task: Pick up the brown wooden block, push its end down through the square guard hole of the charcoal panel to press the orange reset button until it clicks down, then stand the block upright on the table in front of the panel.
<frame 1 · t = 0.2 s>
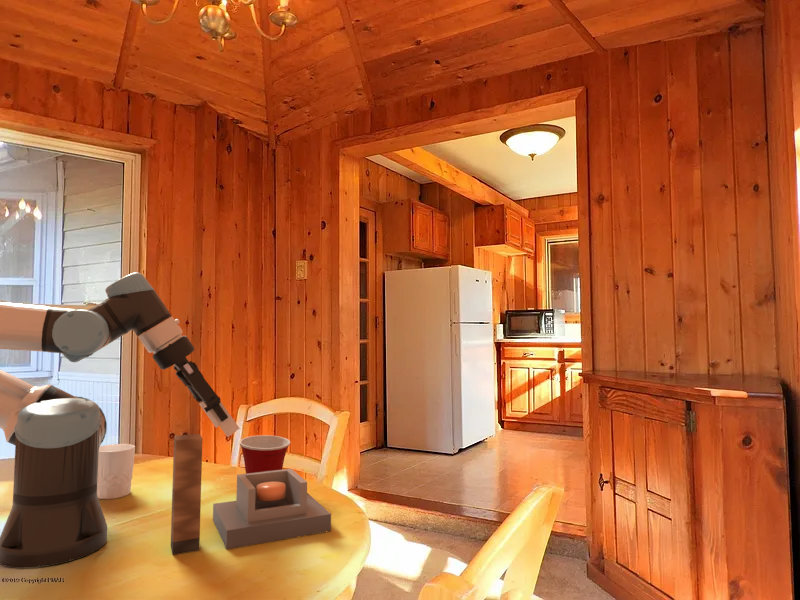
hand: (227, 428, 112), 15 cm above the table, tool tilted 35°, fingers open, 13 cm apart
brown wooden block: (184, 548, 88), on the table
switch panel: (270, 525, 98), on the table
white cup: (112, 495, 116), on the table
button: (271, 491, 99), point 6 cm above the table, slide at 0.0 cm
plastic cup: (263, 496, 116), on the table
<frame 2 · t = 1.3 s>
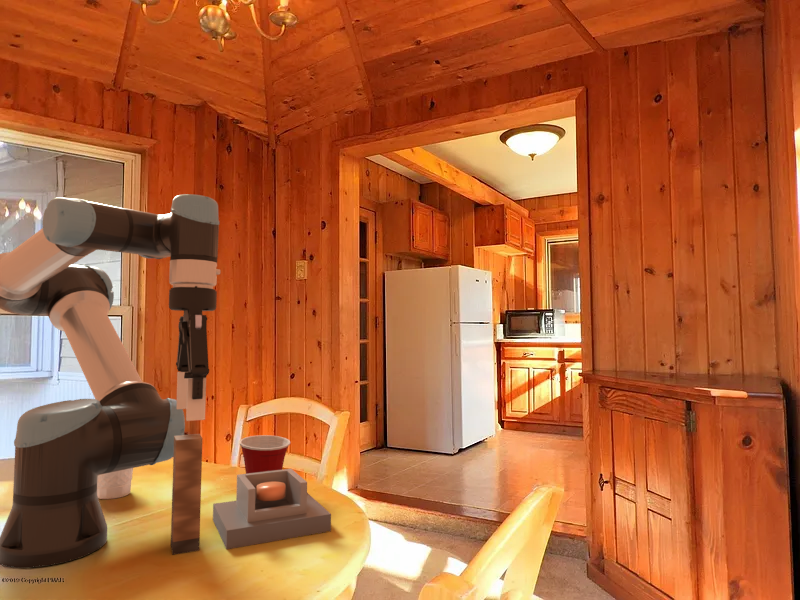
hand: (189, 414, 90), 22 cm above the table, tool pointing down, fingers open, 13 cm apart
nothing on the table moved.
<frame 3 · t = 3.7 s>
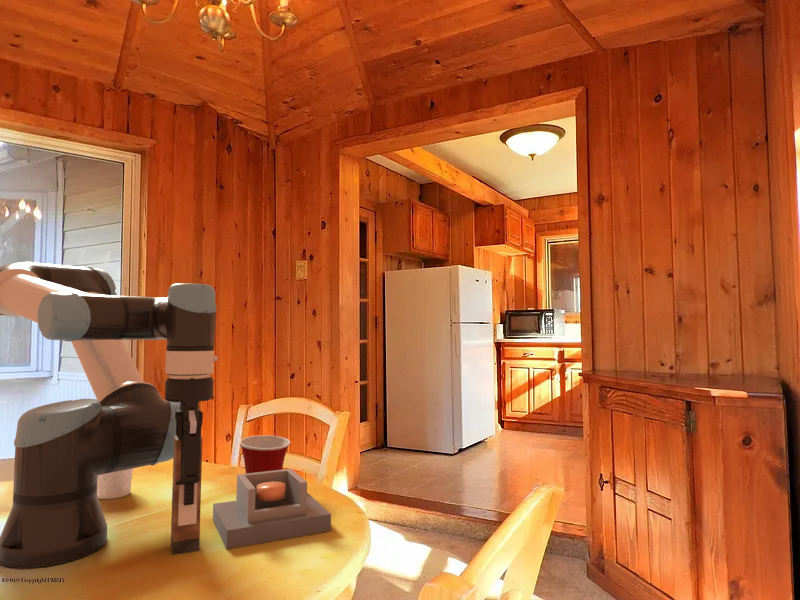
hand: (185, 519, 88), 5 cm above the table, tool pointing down, fingers closed on brown wooden block, 4 cm apart
brown wooden block: (184, 548, 88), on the table, touching gripper
everything else where it was.
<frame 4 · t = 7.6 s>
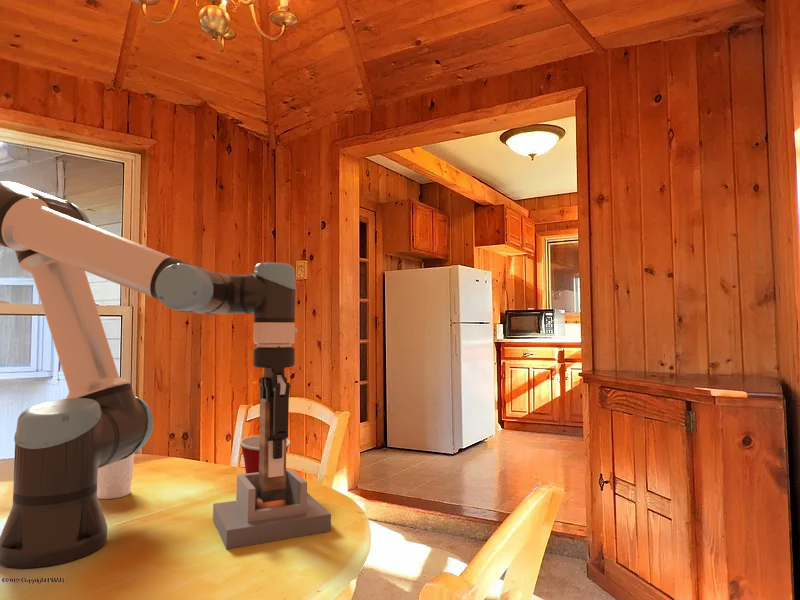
hand: (272, 472, 99), 10 cm above the table, tool pointing down, fingers closed on brown wooden block, 4 cm apart
brown wooden block: (271, 497, 99), point 5 cm above the table, touching button, gripper
button: (270, 503, 99), point 4 cm above the table, slide at 2.2 cm, touching brown wooden block, switch panel
everything else where it was.
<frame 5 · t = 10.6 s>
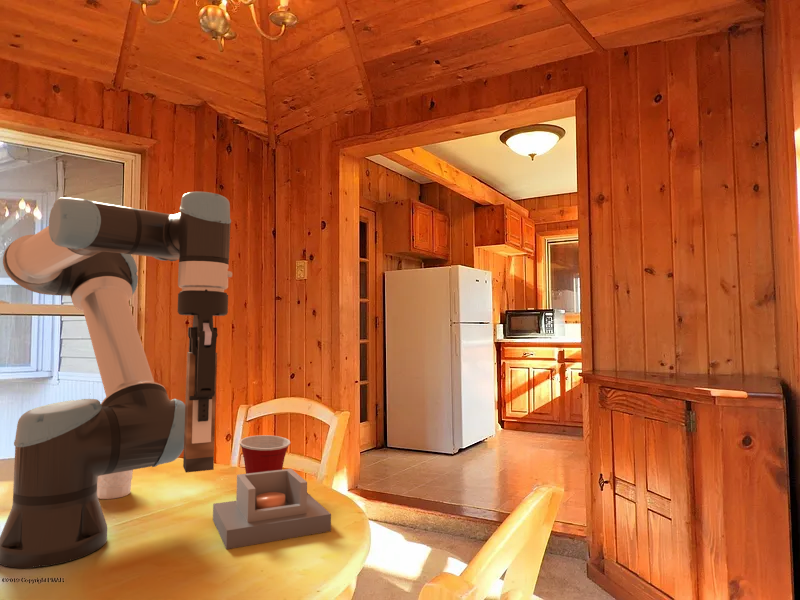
hand: (199, 439, 84), 19 cm above the table, tool pointing down, fingers closed on brown wooden block, 4 cm apart
brown wooden block: (198, 468, 84), point 14 cm above the table, touching gripper
button: (270, 501, 99), point 4 cm above the table, slide at 2.0 cm
everything else where it was.
when the fingers open (6 cm above the table, at t = 13.0 s): brown wooden block drops 1 cm, on the table.
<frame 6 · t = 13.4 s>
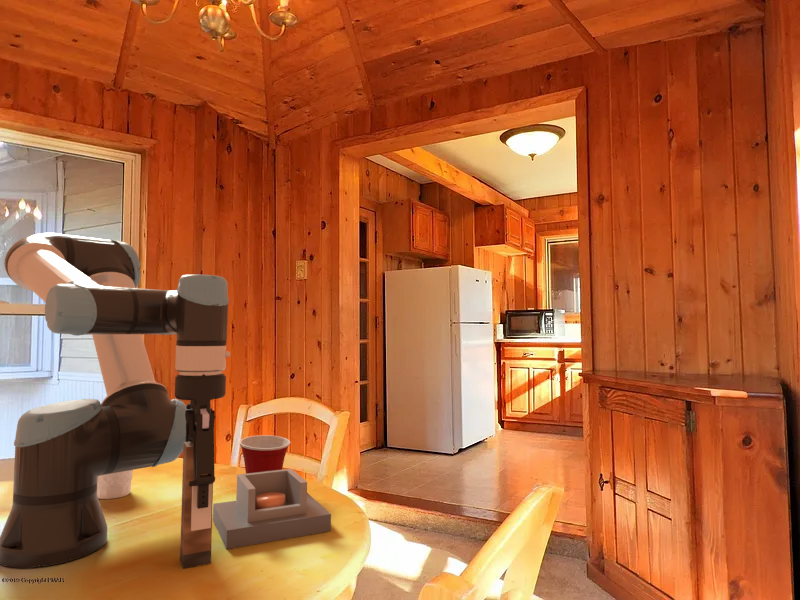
hand: (196, 518, 83), 7 cm above the table, tool pointing down, fingers open, 9 cm apart
brown wooden block: (195, 561, 83), on the table
everything else where it was.
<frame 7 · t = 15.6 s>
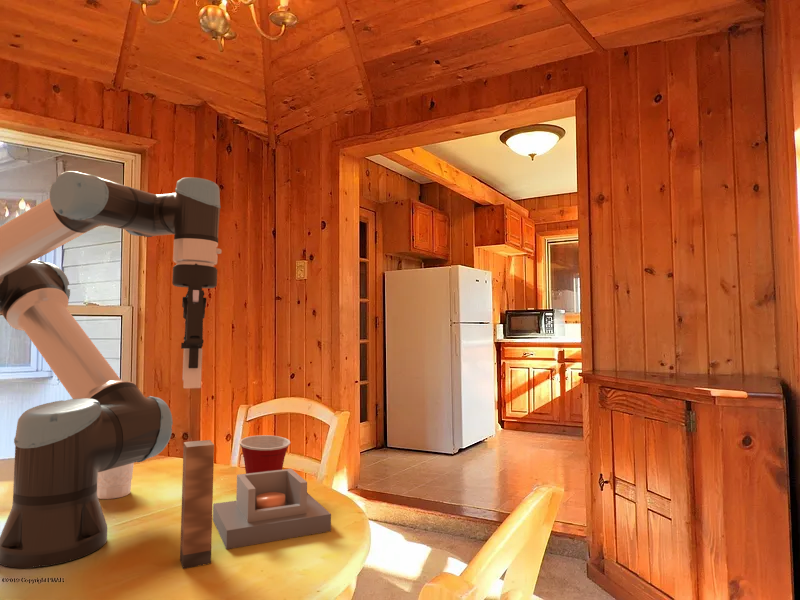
hand: (191, 384, 96), 26 cm above the table, tool pointing down, fingers open, 13 cm apart
nothing on the table moved.
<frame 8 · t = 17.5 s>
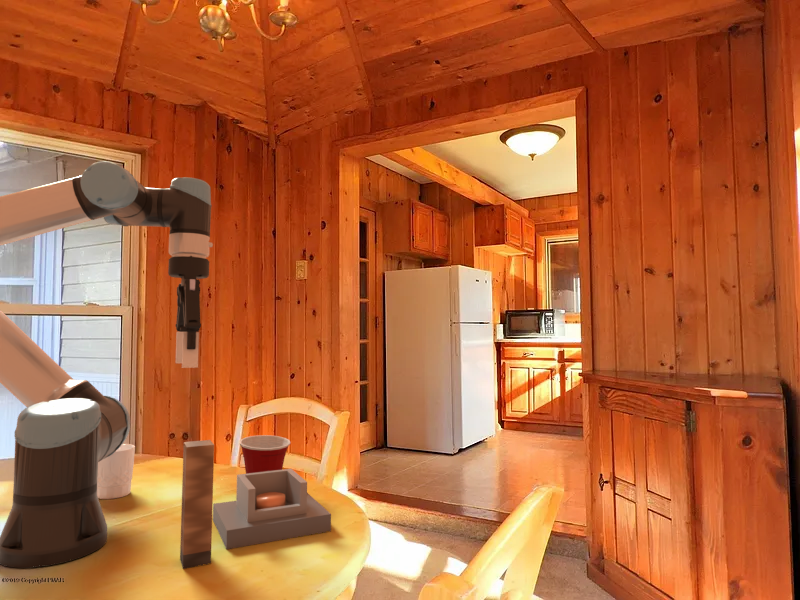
hand: (186, 365, 105), 29 cm above the table, tool pointing down, fingers open, 13 cm apart
nothing on the table moved.
at the end: button slide at 2.0 cm; brown wooden block inside the target area (0.0 cm from its centre), on the table; brown wooden block tilted 0° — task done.
